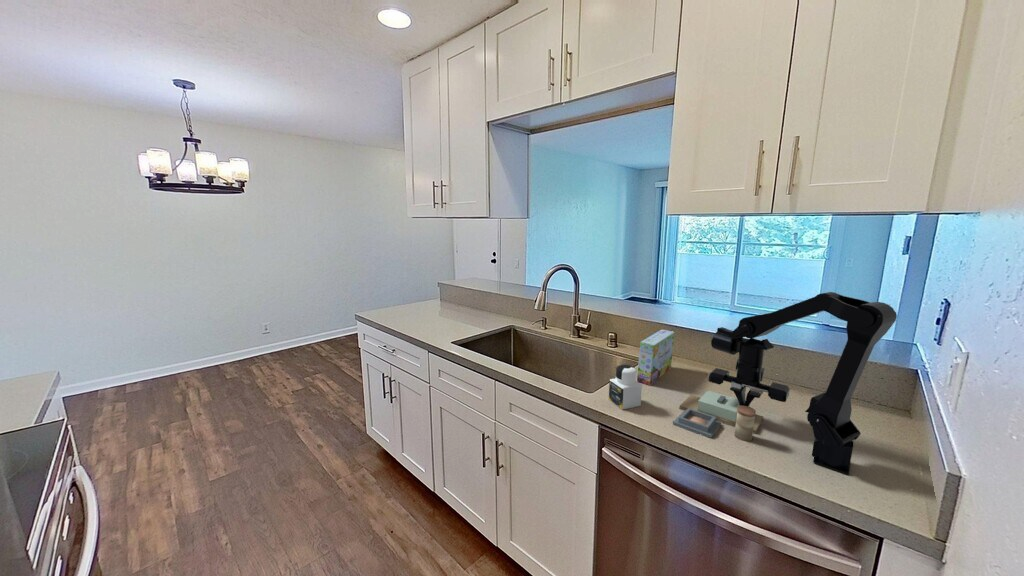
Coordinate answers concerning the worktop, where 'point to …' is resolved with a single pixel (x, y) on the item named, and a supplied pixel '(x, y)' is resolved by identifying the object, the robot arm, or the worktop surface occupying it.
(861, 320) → the robot arm
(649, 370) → the snack box
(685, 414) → the blue-grey square tray
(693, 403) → the board
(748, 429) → the peg
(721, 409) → the cover
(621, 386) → the medicine bottle
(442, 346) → the worktop surface
